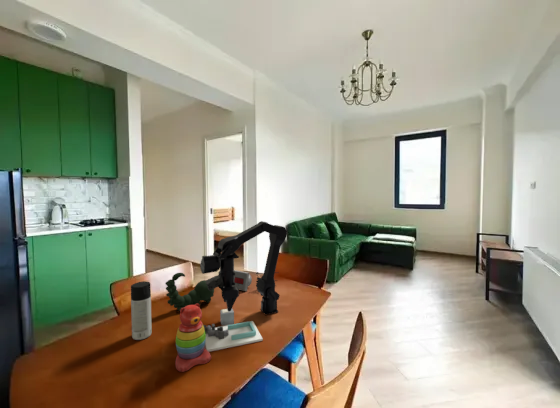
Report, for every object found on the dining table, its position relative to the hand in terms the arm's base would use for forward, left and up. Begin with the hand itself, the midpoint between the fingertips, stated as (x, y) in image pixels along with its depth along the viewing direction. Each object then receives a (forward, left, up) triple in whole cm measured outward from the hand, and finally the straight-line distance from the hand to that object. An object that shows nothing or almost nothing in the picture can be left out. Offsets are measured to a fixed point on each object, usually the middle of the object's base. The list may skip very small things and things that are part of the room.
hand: (227, 306), depth 111 cm
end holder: (-3, +11, -7) cm, 13 cm away
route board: (0, +11, -7) cm, 13 cm away
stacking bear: (+15, +20, -7) cm, 26 cm away
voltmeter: (-21, -33, -7) cm, 39 cm away
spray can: (+32, -1, -7) cm, 33 cm away
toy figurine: (+12, -21, -7) cm, 25 cm away
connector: (0, 0, -7) cm, 7 cm away
